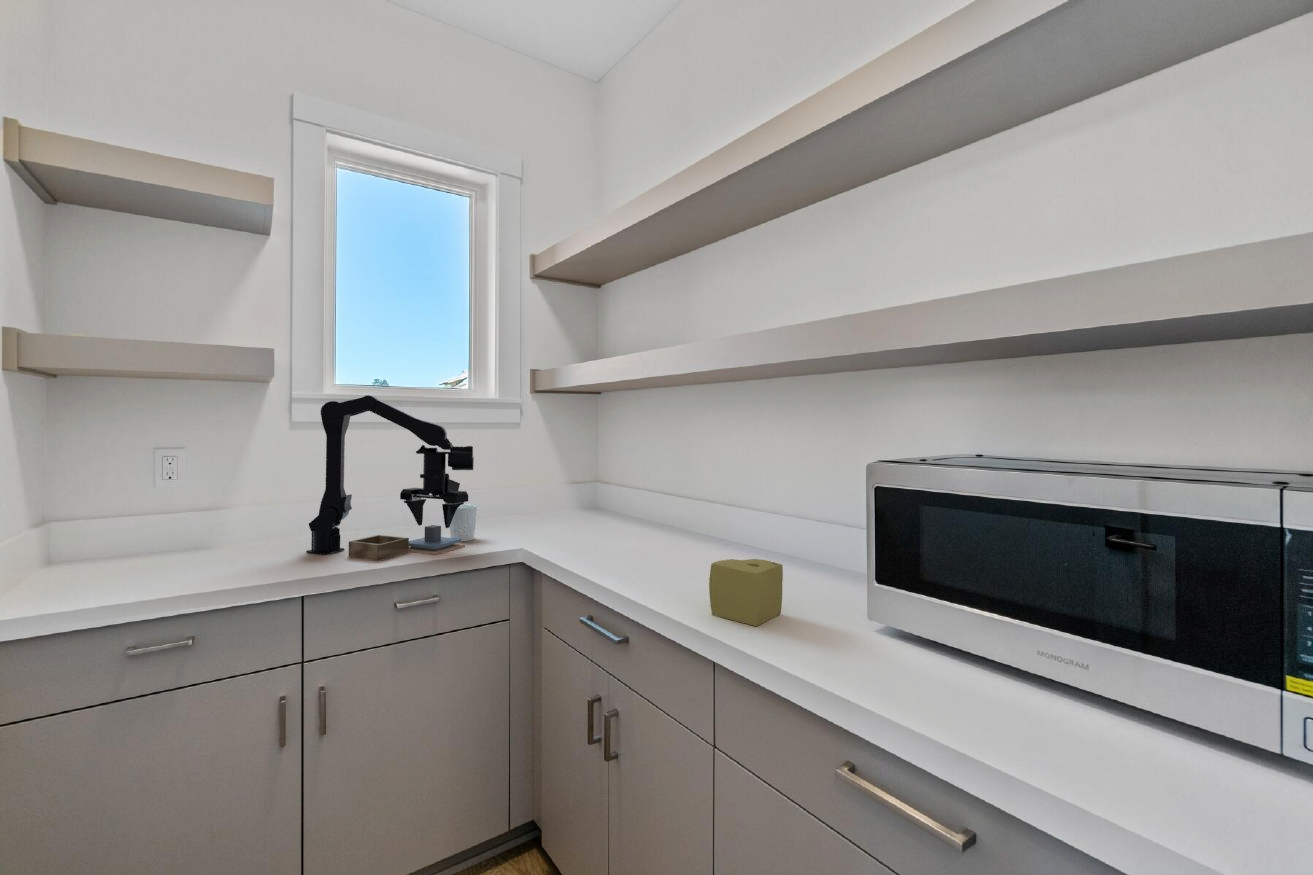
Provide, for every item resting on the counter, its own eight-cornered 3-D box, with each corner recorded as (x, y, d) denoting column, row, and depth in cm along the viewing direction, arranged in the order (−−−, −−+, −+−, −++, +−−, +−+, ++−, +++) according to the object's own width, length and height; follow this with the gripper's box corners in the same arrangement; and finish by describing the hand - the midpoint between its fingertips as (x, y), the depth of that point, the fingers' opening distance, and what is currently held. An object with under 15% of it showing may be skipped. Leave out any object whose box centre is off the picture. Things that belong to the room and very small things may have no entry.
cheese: (736, 603, 118) (737, 554, 118) (785, 615, 111) (786, 563, 111) (707, 615, 110) (708, 562, 110) (757, 629, 103) (759, 573, 103)
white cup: (470, 542, 170) (471, 508, 170) (444, 541, 170) (444, 507, 170) (479, 537, 178) (480, 504, 178) (454, 536, 178) (454, 504, 178)
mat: (399, 550, 157) (399, 548, 157) (430, 542, 168) (430, 540, 168) (435, 555, 153) (435, 552, 153) (464, 546, 164) (464, 544, 164)
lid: (403, 548, 157) (403, 527, 157) (430, 541, 167) (430, 521, 167) (435, 552, 154) (435, 531, 154) (461, 544, 164) (461, 524, 164)
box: (348, 557, 149) (348, 541, 148) (378, 549, 158) (379, 534, 158) (379, 560, 145) (379, 545, 145) (408, 552, 155) (408, 537, 155)
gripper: (481, 469, 165) (480, 524, 165) (427, 466, 171) (426, 519, 171) (455, 472, 154) (454, 531, 155) (399, 469, 160) (398, 525, 161)
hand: (433, 526), depth 161 cm, fingers open, 9 cm apart
